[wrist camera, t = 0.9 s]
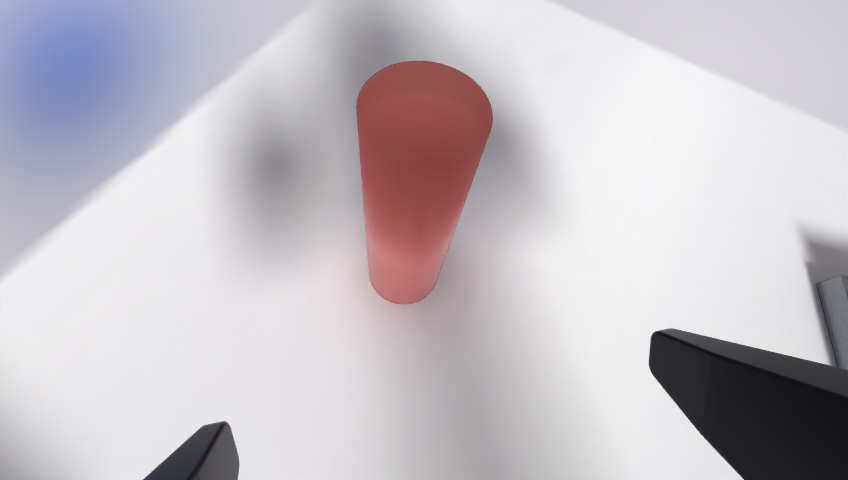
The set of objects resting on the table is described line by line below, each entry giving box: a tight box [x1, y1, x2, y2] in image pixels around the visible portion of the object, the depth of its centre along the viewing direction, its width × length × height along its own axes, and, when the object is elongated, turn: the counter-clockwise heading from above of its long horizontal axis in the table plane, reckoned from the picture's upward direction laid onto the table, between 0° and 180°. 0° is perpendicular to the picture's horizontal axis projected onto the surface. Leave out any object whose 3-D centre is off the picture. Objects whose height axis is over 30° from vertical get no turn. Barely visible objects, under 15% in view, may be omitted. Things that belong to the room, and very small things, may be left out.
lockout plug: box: [356, 61, 493, 304], centre depth 17 cm, size 4×4×13 cm
